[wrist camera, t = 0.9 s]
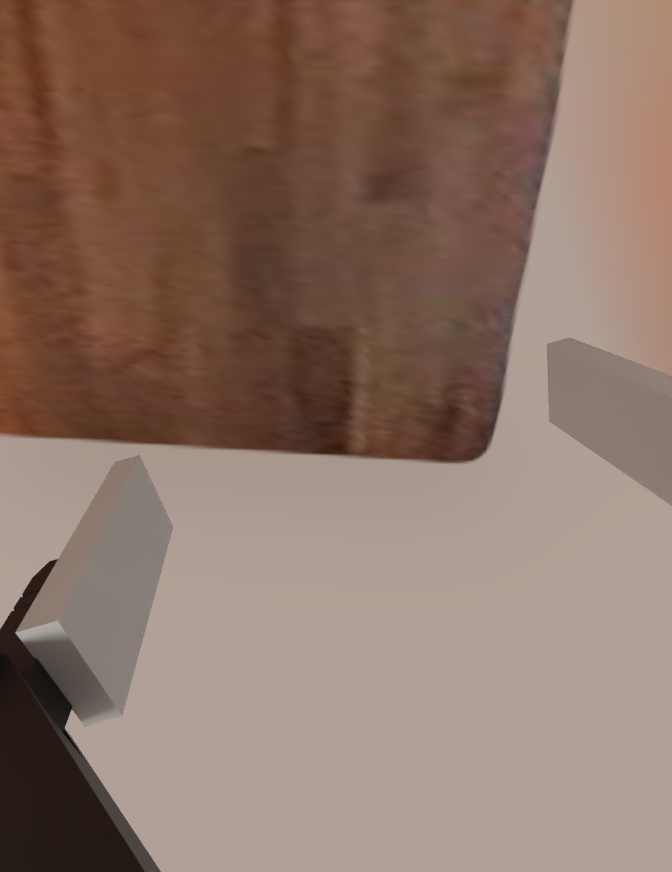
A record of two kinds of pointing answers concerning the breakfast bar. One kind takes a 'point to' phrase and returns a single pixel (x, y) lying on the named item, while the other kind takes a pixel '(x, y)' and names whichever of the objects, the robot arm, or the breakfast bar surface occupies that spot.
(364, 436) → the breakfast bar surface
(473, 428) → the breakfast bar surface
